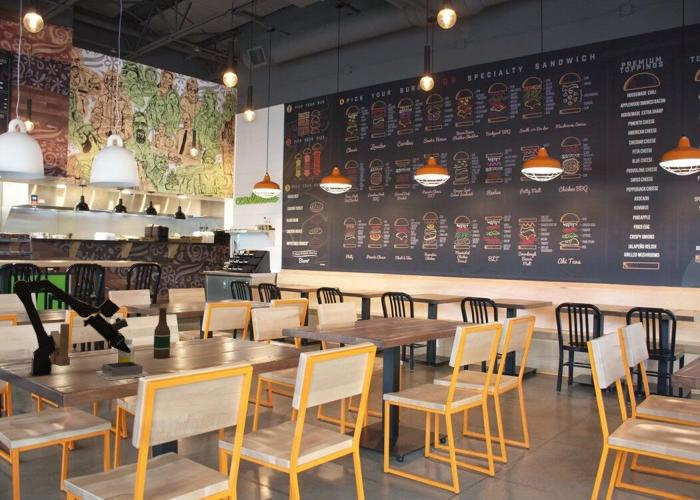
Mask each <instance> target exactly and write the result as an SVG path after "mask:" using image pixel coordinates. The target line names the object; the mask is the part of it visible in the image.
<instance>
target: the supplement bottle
mask: <svg viewBox="0 0 700 500" xmlns="http://www.w3.org/2000/svg"><path fill="white" fill-rule="evenodd" d="M125 343H126V345H127V346H128V348H129V349H130V351H131V352H130V353H127V352H124V351H121V350H118V349H117V363H120V362H134V363H135V351H136V350H135V348H136V347H135V345H134V344H132V343H133V338H129V337H127V338H126V337H125Z"/></svg>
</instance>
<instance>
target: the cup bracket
mask: <svg viewBox="0 0 700 500" xmlns="http://www.w3.org/2000/svg"><path fill="white" fill-rule="evenodd" d="M101 367H102V370H95V375H97V376H98V377H101V378H102V379H105V380H106V381H108V382H109V381H110V380H112V381H118V380H117V379H121V380H127V379H126V378H131V379H136V378H135V377H140V378H142V377H141V376H147V375H149V376H150V373H148V372H147V371H144V370H143V367H144V366H143V365H141V364H139V363H137V362H135V361H134V362H120V363H118V362H112V363H102V365H101ZM110 382H111V381H110Z"/></svg>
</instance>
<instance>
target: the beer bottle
mask: <svg viewBox="0 0 700 500" xmlns="http://www.w3.org/2000/svg"><path fill="white" fill-rule="evenodd" d="M158 310H159V314H158V323H157V325H156V326H155V329H154V332H153V351H152V352H153V359H158V360H161V359H164V360H165V359H169V358H170V355H171V352H170V351H171V330H170V327H169V325H168V322H167V320H168V319H167V311H168V309H167V307H165V306H164V307H159V309H158Z"/></svg>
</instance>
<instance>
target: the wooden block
mask: <svg viewBox="0 0 700 500" xmlns="http://www.w3.org/2000/svg"><path fill="white" fill-rule="evenodd" d="M59 327H60V328H59V330H60V331H59V330H51V331H50V334H52V336H53V340H54V341H55V343H56V345H55V351H54V353H53V354H51V355H50V356H49V358H50V361H51V362H52V364H53V365H54V364H55V365H56V366H57V365H58V366H69V365H71V356H69V350H70V348H69V347H70V345H69V343H70V323H60V326H59ZM50 334H49V335H50Z"/></svg>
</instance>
